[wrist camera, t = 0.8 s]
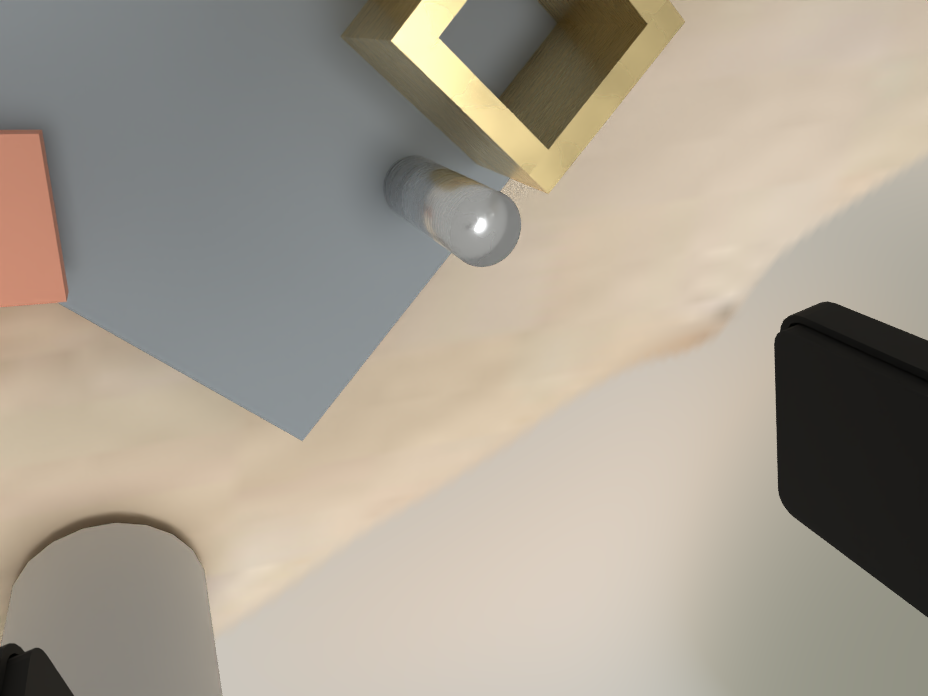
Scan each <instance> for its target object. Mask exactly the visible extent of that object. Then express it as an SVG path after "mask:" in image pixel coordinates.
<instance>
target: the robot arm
mask: <svg viewBox="0 0 928 696" xmlns="http://www.w3.org/2000/svg"><path fill="white" fill-rule="evenodd" d="M774 346H775V347H774V349H775V384H776V385H775V386H776V424H777V460H778V461H777V463H778V491H779V496H780V499H781V501H782V503H783V505H784V506H785V508H786V509H787V510H788V512H789V513H790V514H791V515H792V516H793V517H795V518H796V519H797V520H799V521H800V522H801V523H803V524H804V525H805V526H807V527H808V528H809V529H811V530H812V531H813V532H815V533H816V534H817V535H819V536H820V537H821V538H823V539H824V540H825V541H827V542H828V543H829V544H831V545H832V546H833V547H835V548H836V549H837V550H839V551H840V552H841V553H843V554H844V555H845V556H847V557H848V558H849V559H851V560H852V561H853V562H855V563H856V564H857V565H859V566H860V567H861V568H863V569H864V570H865V571H867V572H868V573H869V574H871V575H872V576H873V577H875V578H876V579H877V580H879V581H880V582H881V583H883V584H884V585H885V586H887V587H888V588H889V589H891V590H892V591H893V592H895V593H896V594H897V595H899V596H900V597H902V598H903V599H904V600H905V601H907V602H908V603H909V604H911V605H912V606H913V607H915V608H916V609H917V610H919V611H920V612H921V613H923V614H924V615H925V616H927V617H928V341H927V340H925V339H922V338H920V337H917V336H915V335H913V334H910V333H908V332H905V331H903V330H900V329H898V328H895V327H893V326H890V325H887V324H885V323H883V322H880V321H878V320H875V319H873V318H870V317H868V316H865V315H863V314H860V313H858V312H855V311H853V310H851V309H848V308H846V307H843V306H841V305H838V304H836V303H831V302H822V303H819V304H817V305H814V306H812V307H809V308H807V309H805V310H802V311H800V312H797V313H795V314H793V315H790V316H788V317H787V318H786V319H785V320H784V321H783V323H782V325H781V330H780V332H779V333H778V334H777V336H776V338H775V343H774ZM0 696H74V695H73V693H72V692H71V690H70V689H69V687H68V686H67V684H66V683H65V681H64V680H63V678H62V677H61V675H60V674H59V672H58V671H57V669H56V668H55V666H54V665H53V663H52V662H51V660H50V659H49V657H48V656H47V654H46V653H45V652H44V651H43V650H42V649H40V648H33V649H31V650H28V651H26V652H24V650H23V649H22V648H21V647H20V646H18V645H17V644H15V643H8V644H6V645H4V646H1V647H0Z"/></svg>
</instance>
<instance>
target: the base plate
mask: <svg viewBox="0 0 928 696" xmlns="http://www.w3.org/2000/svg"><path fill="white" fill-rule="evenodd" d="M367 1H368V0H0V130H42V132H43V139H44V145H45V151H46V157H47V163H48V169H49V175H50V181H51V187H52V193H53V200H54V206H55V212H56V218H57V224H58V230H59V236H60V242H61V248H62V254H63V261H64V267H65V273H66V279H67V285H68V291H69V293H68V298H67V302H58V303H59V304H61V305H62V306H64V307H66V308H68V309H69V310H71V311H73V312H75V313H76V314H78V315H80V316H82V317H84V318H85V319H87V320H89V321H91V322H92V323H94V324H96V325H98V326H100V327H101V328H103V329H105V330H107V331H108V332H110V333H112V334H114V335H115V336H117V337H119V338H121V339H123V340H124V341H126V342H128V343H130V344H131V345H133V346H135V347H137V348H138V349H140V350H142V351H144V352H146V353H147V354H149V355H151V356H153V357H154V358H156V359H158V360H160V361H162V362H163V363H165V364H167V365H169V366H170V367H172V368H174V369H176V370H177V371H179V372H181V373H183V374H185V375H186V376H188V377H190V378H192V379H193V380H195V381H197V382H199V383H201V384H202V385H204V386H206V387H208V388H209V389H211V390H213V391H215V392H216V393H218V394H220V395H222V396H224V397H225V398H227V399H229V400H231V401H232V402H234V403H236V404H238V405H239V406H241V407H243V408H245V409H247V410H248V411H250V412H252V413H254V414H255V415H257V416H259V417H261V418H263V419H264V420H266V421H268V422H270V423H271V424H273V425H275V426H277V427H278V428H280V429H282V430H284V431H286V432H287V433H289V434H291V435H293V436H294V437H296V438H298V439H300V440H301V441H303V440H304V438H305V437H306V436H307V435H308V433H309V432H310V431H311V429H312V428H313V427H314V426H315V424H316V423H317V422H318V421H319V419H320V418H321V417H322V416H323V414H324V413H325V412H326V411H327V409H328V408H329V407H330V405H331V404H332V403H333V402H334V400H335V399H336V398H337V397H338V395H339V394H340V393H341V392H342V390H343V389H344V388H345V386H346V385H347V384H348V383H349V381H350V380H351V379H352V378H353V376H354V375H355V374H356V373H357V371H358V370H359V369H360V367H361V366H362V365H363V364H364V362H365V361H366V360H367V359H368V357H369V356H370V355H371V354H372V352H373V351H374V350H375V349H376V347H377V346H378V345H379V343H380V342H381V341H382V340H383V338H384V337H385V336H386V335H387V333H388V332H389V331H390V330H391V328H392V327H393V326H394V324H395V323H396V322H397V321H398V319H399V318H400V317H401V316H402V314H403V313H404V312H405V311H406V309H407V308H408V307H409V306H410V304H411V303H412V302H413V300H414V299H415V298H416V297H417V295H418V294H419V293H420V292H421V290H422V289H423V288H424V287H425V285H426V284H427V283H428V281H429V280H430V279H431V278H432V276H433V275H434V274H435V273H436V271H437V270H438V269H439V268H440V266H441V265H442V264H443V262H444V261H445V260H446V259H447V257H448V256H449V255H450V254H451V252H450V251H448V250H447V249H446V248H444V247H443V246H441V245H440V244H439V243H437V242H436V241H434V240H433V239H432V238H430V237H429V236H427V235H426V234H425V233H423V232H422V231H420V230H419V229H418V228H416V227H415V226H413V225H412V224H410V223H409V222H408V221H406V220H405V219H403V218H402V217H401V216H399V215H398V214H396V213H395V212H394V211H393V210H392V209H391V208H390V207H389V206H388V204H387V202H386V200H385V196H384V190H383V186H384V180H385V177H386V174H387V172H388V171H389V169H390V168H391V167H392V165H393V164H394V163H396V162H397V161H398V160H400V159H402V158H404V157H407V156H421V157H424V158H427V159H429V160H431V161H433V162H436V163H438V164H440V165H442V166H444V167H447V168H449V169H451V170H453V171H455V172H457V173H460V174H462V175H464V176H466V177H468V178H471V179H473V180H475V181H477V182H479V183H481V184H484V185H486V186H488V187H490V188H492V189H495V190H497V191H499V192H500V190H501V189H502V188H503V187H504V185H505V184H506V183H507V182H508V180H509V179H510V178H509V177H506V176H504V175H501V174H499V173H496V172H494V171H492V170H489V169H487V168H484V167H482V166H479V165H477V164H476V163H475V162H474V161H473V160H472V159H471V158H470V157H468V156H467V155H466V154H465V153H464V152H463V151H462V150H461V149H460V148H459V147H458V146H457V145H456V144H455V143H453V142H452V141H451V140H450V139H449V138H448V137H447V136H446V135H445V134H444V133H443V132H442V131H441V130H440V129H438V128H437V127H436V126H435V125H434V124H433V123H432V122H431V121H430V120H429V119H428V118H427V117H426V116H425V115H423V114H422V113H421V112H420V111H419V110H418V109H417V108H416V107H415V106H414V105H413V104H412V103H411V102H410V101H408V100H407V99H406V98H405V97H404V96H403V95H402V94H401V93H400V92H399V91H398V90H397V89H396V88H395V87H393V86H392V85H391V84H390V83H389V82H388V81H387V80H386V79H385V78H384V77H383V76H382V75H381V74H380V73H379V72H377V71H376V70H375V69H374V68H373V67H372V66H371V65H370V64H369V63H368V62H367V61H366V60H365V59H364V58H362V57H361V56H360V55H359V54H358V53H357V52H356V51H355V50H354V49H353V48H352V47H351V46H350V45H349V44H347V43H346V42H345V41H344V40H343V39H342V38H341V37H340V36H341V35H342V34H343V32H344V31H345V30H346V29H347V27H348V26H349V25H350V23H351V22H352V21H353V19H354V18H355V17H356V15H357V14H358V13H359V12H360V10H361V9H362V8H363V6H364V5H365V4H366V2H367ZM556 25H557V23H556V21H555V20H554V19H553V18H552V17H551V16H550V14H549V13H548V12H547V11H546V10H545V9H544V7H543V6H542V5H541V4H540V3H539V2H538V0H467V1H466V3H465V4H464V5H463V6H462V8H461V9H460V10H459V12H458V13H457V14H456V15H455V17H454V18H453V19H452V21H451V22H450V23H449V24H448V26H447V27H446V28H445V30H444V31H443V32H442V34H441V35H440V36H439V37H438V38H439V39H440V40H441V41H442V42H443V43H444V44H445V45H446V46H447V47H448V48H449V49H450V50H451V51H452V52H453V53H454V54H455V55H456V56H457V57H458V58H459V59H460V60H461V61H462V62H463V63H464V64H465V65H466V66H467V67H468V68H469V69H470V71H471V72H472V73H473V74H474V75H475V76H476V77H477V78H478V79H479V80H480V81H481V82H482V83H483V84H484V85H485V86H486V87H487V88H488V89H489V90H490V91H491V92H492V93H493V94H494V95H495V96H496V97H497V98H498V99H499V97H500V96H501V95H502V93H503V92H504V91H505V90H506V88H507V87H508V86H509V84H510V83H511V82H512V81H513V79H514V78H515V77H516V76H517V74H518V73H519V72H520V70H521V69H522V68H523V67H524V65H525V64H526V63H527V62H528V60H529V59H530V58H531V56H532V55H533V54H534V53H535V51H536V50H537V49H538V47H539V46H540V45H541V44H542V42H543V41H544V40H545V39H546V37H547V36H548V35H549V33H550V32H551V31H552V30H553V28H554V27H555V26H556Z"/></svg>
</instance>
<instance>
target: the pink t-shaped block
mask: <svg viewBox="0 0 928 696" xmlns="http://www.w3.org/2000/svg"><path fill="white" fill-rule="evenodd" d="M68 293H69V291H68V285H67V279H66V273H65V267H64V261H63V254H62V248H61V242H60V236H59V230H58V224H57V218H56V212H55V206H54V200H53V193H52V187H51V181H50V175H49V169H48V163H47V157H46V151H45V145H44V139H43V132H42V130H0V307H8V306H21V305H33V304H46V303H58V302H67V298H68Z"/></svg>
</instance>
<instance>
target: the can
mask: <svg viewBox="0 0 928 696" xmlns="http://www.w3.org/2000/svg"><path fill="white" fill-rule="evenodd" d="M8 643H15V644H17V645H18V646H20V647H21V648H22V649H23V650H24V652H26V651H28V650H31V649H33V648H40V649H42V650H43V651H44V652H45V653H46V654H47V656H48V657H49V659H50V660H51V662H52V663H53V665H54V666H55V668H56V669H57V671H58V672H59V674H60V675H61V677H62V678H63V680H64V681H65V683H66V684H67V686H68V687H69V689H70V690H71V692H72V693H73V695H74V696H222V689H221V683H220V675H219V669H218V662H217V655H216V648H215V641H214V634H213V627H212V620H211V613H210V606H209V599H208V593H207V586H206V579H205V572H204V568H203V567H202V565H201V563H200V562H199V560H198V558H197V556H196V555H195V553H194V551H193V550H192V549H191V548H190V547H188V546H187V545H186V544H185V543H183V542H182V541H181V540H179V539H178V538H177V537H176V536H174V535H173V534H170V533H168V532H165V531H162V530H159V529H156V528H153V527H151V526H148V525H140V524H126V523H111V524H105V525H100V526H94V527H89V528H83V529H81V530H78V531H76V532H74V533H72V534H69V535H67V536H65V537H63V538H60V539H58V540H56V541H54V542H52V543H51V544H50V545H48V546H47V547H46V548H45V549H43V550H42V551H41V552H40V553H38V554H37V555H36V556H35V557H34V558H32V559H31V560H30V561H29V562H28V563H27V565H26V566H25V568H24V569H23V571H22V572H21V574H20V575H19V577H18V578H17V580H16V581H15V583H14V584H13V587H12V592H11V597H10V602H9V607H8V612H7V617H6V622H5V627H4V632H3V637H2V642H1V646H4V645H6V644H8Z"/></svg>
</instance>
